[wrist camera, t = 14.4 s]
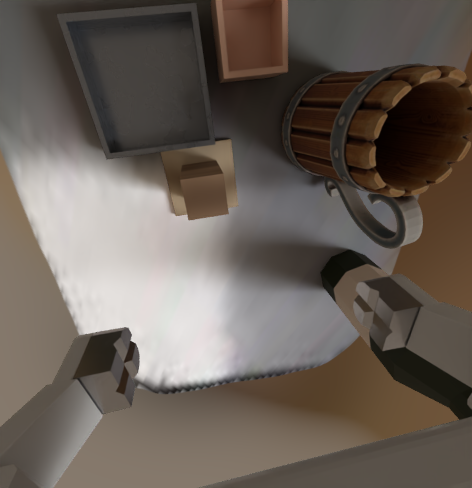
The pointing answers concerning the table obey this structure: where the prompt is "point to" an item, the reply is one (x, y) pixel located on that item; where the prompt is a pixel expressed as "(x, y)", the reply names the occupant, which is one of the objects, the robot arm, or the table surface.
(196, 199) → the walnut block
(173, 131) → the tin
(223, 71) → the terracotta pot
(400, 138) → the mug
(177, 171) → the light wooden board
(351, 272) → the wine bottle
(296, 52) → the table surface
